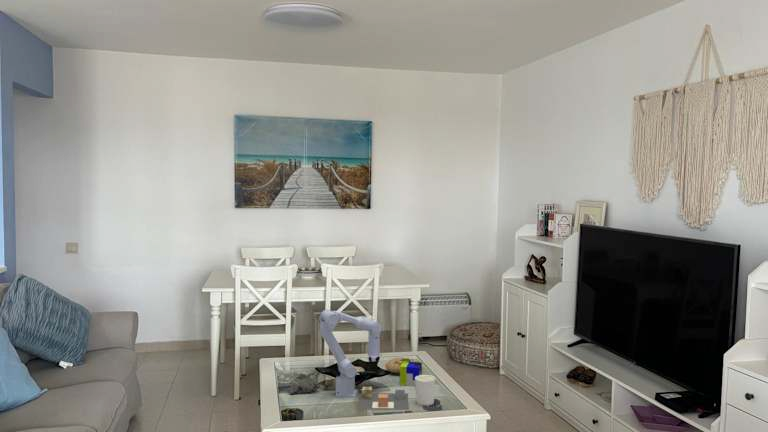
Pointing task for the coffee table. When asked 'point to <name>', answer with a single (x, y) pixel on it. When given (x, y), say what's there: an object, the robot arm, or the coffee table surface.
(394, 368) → the nautilus
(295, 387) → the mineral rock
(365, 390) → the beech block
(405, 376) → the puzzle toy
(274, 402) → the coffee table surface
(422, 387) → the candle holder
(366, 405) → the mat
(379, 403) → the terracotta block
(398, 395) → the slate block
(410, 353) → the coffee table surface
